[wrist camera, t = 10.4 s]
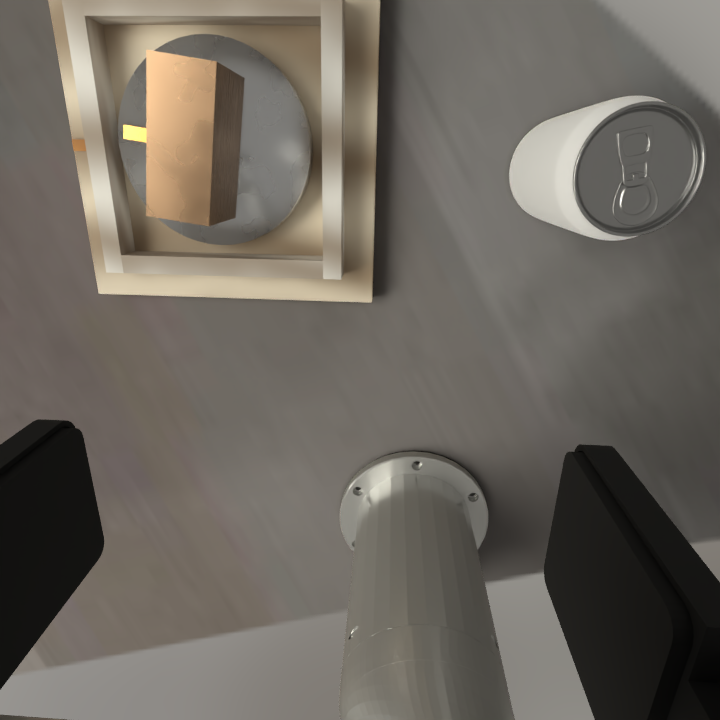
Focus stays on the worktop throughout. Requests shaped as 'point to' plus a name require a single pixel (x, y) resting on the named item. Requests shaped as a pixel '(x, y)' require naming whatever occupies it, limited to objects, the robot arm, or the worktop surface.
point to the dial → (215, 139)
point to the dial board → (328, 126)
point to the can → (610, 168)
